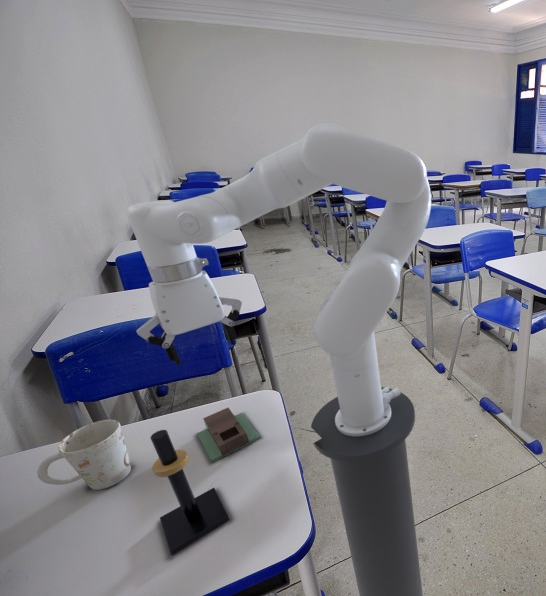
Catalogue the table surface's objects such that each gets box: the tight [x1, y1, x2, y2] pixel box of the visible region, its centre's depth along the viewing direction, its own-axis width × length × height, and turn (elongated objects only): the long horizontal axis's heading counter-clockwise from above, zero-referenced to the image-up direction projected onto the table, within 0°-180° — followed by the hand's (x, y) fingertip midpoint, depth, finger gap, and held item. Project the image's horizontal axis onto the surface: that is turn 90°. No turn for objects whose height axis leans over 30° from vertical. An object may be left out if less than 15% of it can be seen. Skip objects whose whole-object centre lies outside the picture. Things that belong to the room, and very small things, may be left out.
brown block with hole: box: [202, 407, 250, 457], centre depth 79 cm, size 12×5×2 cm, turn 45°
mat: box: [196, 412, 261, 463], centre depth 79 cm, size 9×11×1 cm
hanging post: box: [150, 429, 230, 556], centre depth 58 cm, size 8×8×18 cm
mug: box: [36, 419, 132, 491], centre depth 68 cm, size 8×13×10 cm, turn 124°
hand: (206, 352), depth 75 cm, fingers open, 9 cm apart
